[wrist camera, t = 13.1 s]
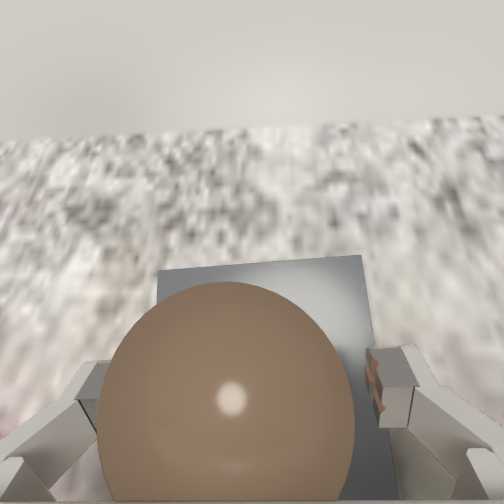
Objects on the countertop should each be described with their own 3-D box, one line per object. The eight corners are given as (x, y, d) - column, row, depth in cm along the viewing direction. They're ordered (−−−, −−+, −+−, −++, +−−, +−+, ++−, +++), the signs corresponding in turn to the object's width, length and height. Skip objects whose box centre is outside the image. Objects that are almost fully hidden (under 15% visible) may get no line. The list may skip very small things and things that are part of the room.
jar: (308, 316, 18) (331, 269, 7) (322, 424, 16) (379, 568, 6) (212, 324, 18) (103, 293, 8) (216, 431, 17) (88, 575, 6)
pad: (358, 258, 19) (361, 254, 18) (394, 496, 16) (399, 504, 15) (163, 273, 20) (158, 270, 19) (156, 497, 17) (149, 505, 16)
